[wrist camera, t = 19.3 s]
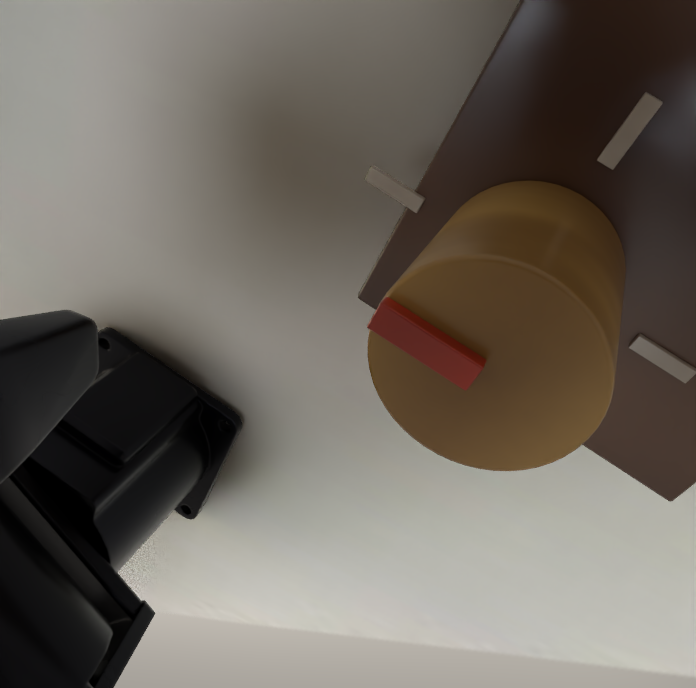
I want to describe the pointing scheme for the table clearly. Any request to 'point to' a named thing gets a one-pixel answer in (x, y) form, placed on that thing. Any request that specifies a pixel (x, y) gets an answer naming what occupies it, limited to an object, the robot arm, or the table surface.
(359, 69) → the table surface
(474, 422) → the rotary control knob
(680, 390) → the brown rectangular block
